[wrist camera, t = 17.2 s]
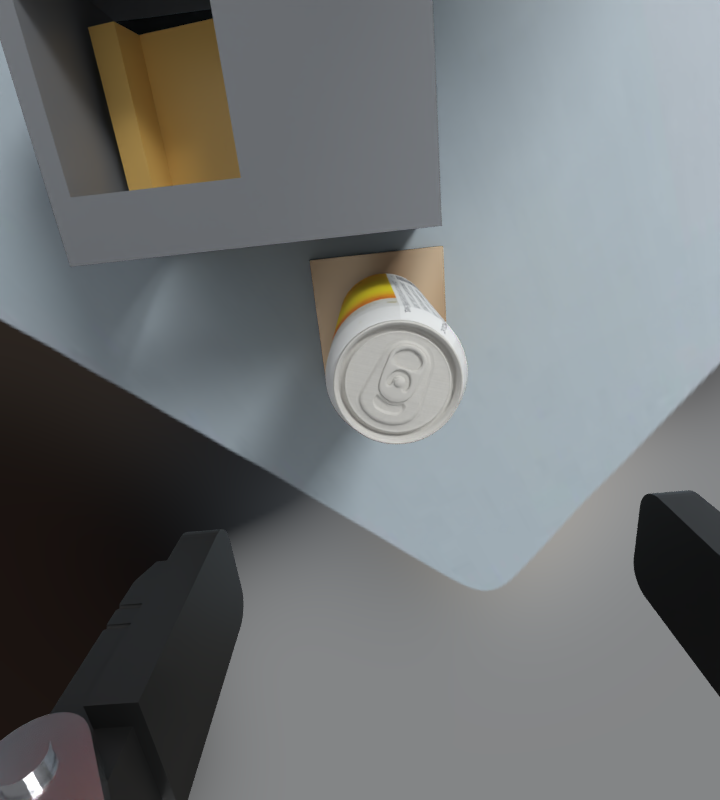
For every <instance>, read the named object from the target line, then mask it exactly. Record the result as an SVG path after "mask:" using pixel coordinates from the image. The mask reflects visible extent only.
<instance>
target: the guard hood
mask: <svg viewBox="0 0 720 800" xmlns="http://www.w3.org/2000/svg"><path fill="white" fill-rule="evenodd" d="M209 9H211V10H212V16H213V21H214V27H215V33H216V38H217V44H218V50H219V56H220V61H221V67H222V73H223V78H224V84H225V90H226V96H227V101H228V107H229V113H230V118H231V124H232V130H233V136H234V141H235V147H236V153H237V158H238V164H239V170H240V176H241V178H234V179H225V180H217V181H208V182H200V183H191V184H182V185H174V186H165V187H157V188H148V189H139V190H131V191H129V188H128V184H127V180H126V176H125V172H124V168H123V164H122V160H121V157H120V153H119V149H118V145H117V141H116V137H115V133H114V129H113V125H112V121H111V117H110V113H109V109H108V105H107V101H106V97H105V93H104V89H103V85H102V81H101V77H100V73H99V69H98V65H97V61H96V58H95V54H94V50H93V46H92V42H91V38H90V34H89V30H88V27H92V26H96V25H100V24H104V23H109V22H113V21H114V22H118V21H126V20H133V19H141V18H148V17H156V16H163V15H171V14H179V13H186V12H194V11H201V10H209ZM0 41H1V44H2V47H3V51H4V54H5V57H6V60H7V63H8V67H9V70H10V73H11V76H12V80H13V83H14V86H15V89H16V93H17V96H18V99H19V102H20V106H21V109H22V112H23V115H24V119H25V122H26V125H27V128H28V132H29V135H30V138H31V141H32V144H33V148H34V151H35V154H36V157H37V161H38V164H39V167H40V170H41V174H42V177H43V180H44V183H45V187H46V190H47V193H48V196H49V200H50V203H51V206H52V209H53V213H54V216H55V219H56V222H57V225H58V229H59V232H60V235H61V238H62V242H63V245H64V248H65V251H66V255H67V258H68V261H69V264H70V267H72V266H81V265H90V264H99V263H108V262H117V261H126V260H135V259H145V258H154V257H163V256H172V255H181V254H190V253H199V252H208V251H217V250H226V249H235V248H244V247H253V246H262V245H271V244H281V243H290V242H299V241H308V240H317V239H326V238H335V237H344V236H353V235H362V234H371V233H380V232H389V231H398V230H407V229H417V228H426V227H435V226H442V218H441V193H440V169H439V144H438V120H437V95H436V71H435V46H434V22H433V0H0Z"/></svg>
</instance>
